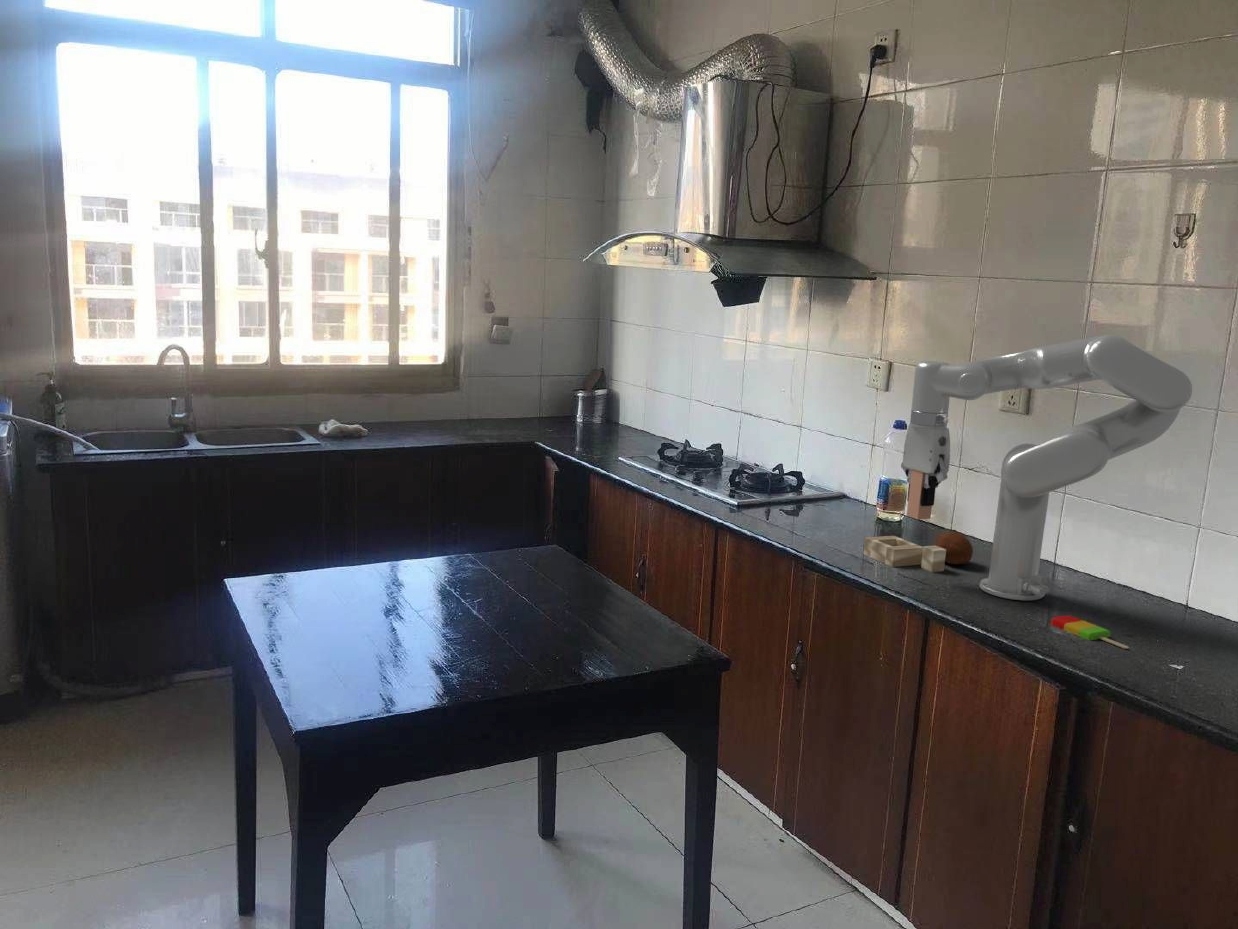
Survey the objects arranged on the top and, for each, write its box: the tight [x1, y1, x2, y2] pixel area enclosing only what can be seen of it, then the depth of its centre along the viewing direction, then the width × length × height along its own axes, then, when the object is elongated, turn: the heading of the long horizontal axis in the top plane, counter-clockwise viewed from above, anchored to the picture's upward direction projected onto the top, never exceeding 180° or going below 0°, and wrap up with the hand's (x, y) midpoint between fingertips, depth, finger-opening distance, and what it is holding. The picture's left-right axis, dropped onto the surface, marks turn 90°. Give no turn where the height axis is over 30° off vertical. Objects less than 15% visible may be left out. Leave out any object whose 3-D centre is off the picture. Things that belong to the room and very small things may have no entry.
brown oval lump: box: [934, 530, 974, 565], centre depth 225 cm, size 8×11×8 cm
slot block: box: [863, 535, 923, 568], centre depth 226 cm, size 10×8×4 cm
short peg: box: [920, 545, 946, 573], centre depth 219 cm, size 4×4×5 cm
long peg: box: [906, 469, 933, 520], centre depth 210 cm, size 4×4×12 cm
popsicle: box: [1050, 615, 1129, 650], centre depth 181 cm, size 6×15×2 cm, turn 26°
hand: (920, 502), depth 211 cm, fingers closed on long peg, 3 cm apart
